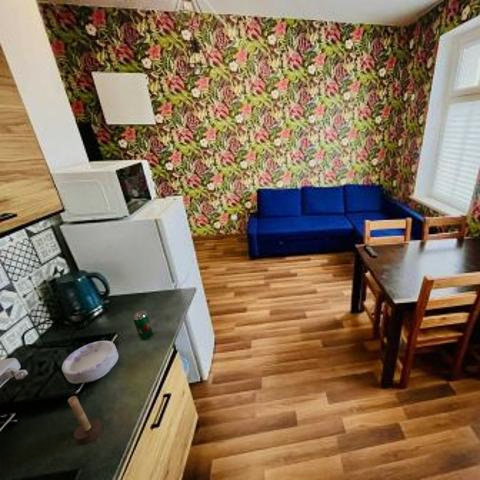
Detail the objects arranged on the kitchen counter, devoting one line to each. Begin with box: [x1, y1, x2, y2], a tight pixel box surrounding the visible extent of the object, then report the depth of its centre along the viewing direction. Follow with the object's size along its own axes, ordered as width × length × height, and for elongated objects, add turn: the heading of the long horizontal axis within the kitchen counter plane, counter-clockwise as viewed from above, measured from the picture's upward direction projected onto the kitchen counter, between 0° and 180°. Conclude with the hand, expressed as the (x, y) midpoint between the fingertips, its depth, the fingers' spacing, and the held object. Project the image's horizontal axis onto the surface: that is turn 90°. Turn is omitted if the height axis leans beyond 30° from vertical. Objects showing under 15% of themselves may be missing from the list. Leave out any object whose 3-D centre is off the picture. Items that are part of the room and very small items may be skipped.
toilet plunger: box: [67, 395, 104, 446], centre depth 76 cm, size 6×6×15 cm
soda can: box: [132, 310, 154, 341], centre depth 114 cm, size 5×5×12 cm
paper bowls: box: [61, 340, 119, 385], centre depth 98 cm, size 15×15×8 cm
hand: (9, 389), depth 69 cm, fingers open, 8 cm apart
